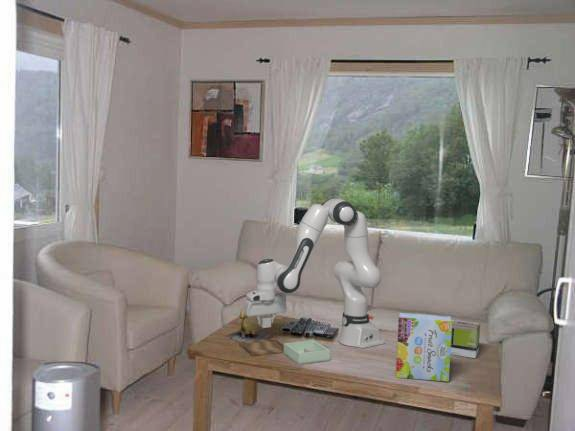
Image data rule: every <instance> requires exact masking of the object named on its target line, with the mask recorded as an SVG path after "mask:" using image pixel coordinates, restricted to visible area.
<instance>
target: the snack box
mask: <svg viewBox="0 0 575 431" xmlns="http://www.w3.org/2000/svg"><path fill="white" fill-rule="evenodd" d="M451 319H452V317H451V316H450V315H449V316H448V315H437V314H424V313H407V312H398V319H397V322H398V324H397V333H396V334H397V335H396V336H397V339H396V354H395V356H396V359H395V377H396V379H397V378H401V379H413V380H423V381H434V382H447V383H449V382H450V368H451V367H450V366H451V354H450V353H451V336H452V320H451Z"/></svg>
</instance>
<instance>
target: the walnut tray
mask: <svg viewBox="0 0 575 431" xmlns="http://www.w3.org/2000/svg"><path fill="white" fill-rule="evenodd" d="M238 342H239V347H240V348H242V349H243V350H244V351H246V352H247V353H248V354H249V355H250V356H251V357H258V356H265V355H267V356H268V355H275V354H276V355H277V354H283V352H284V343H283V342H281V341H279V340H278V339H276V338H275V337H274V338H267V339H262V340H253V341H243V342H240V341H238Z"/></svg>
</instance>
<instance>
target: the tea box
mask: <svg viewBox="0 0 575 431" xmlns="http://www.w3.org/2000/svg"><path fill="white" fill-rule="evenodd" d="M451 320H452V336H451V353H450V355H452V356H458V357H465V358H470V359H476V358H477V357H478V354H479V348H480V331H481V323H480V322H475V321H469V320H468V321H467V320H463V319H462V320H460V319H453V318H451Z"/></svg>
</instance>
